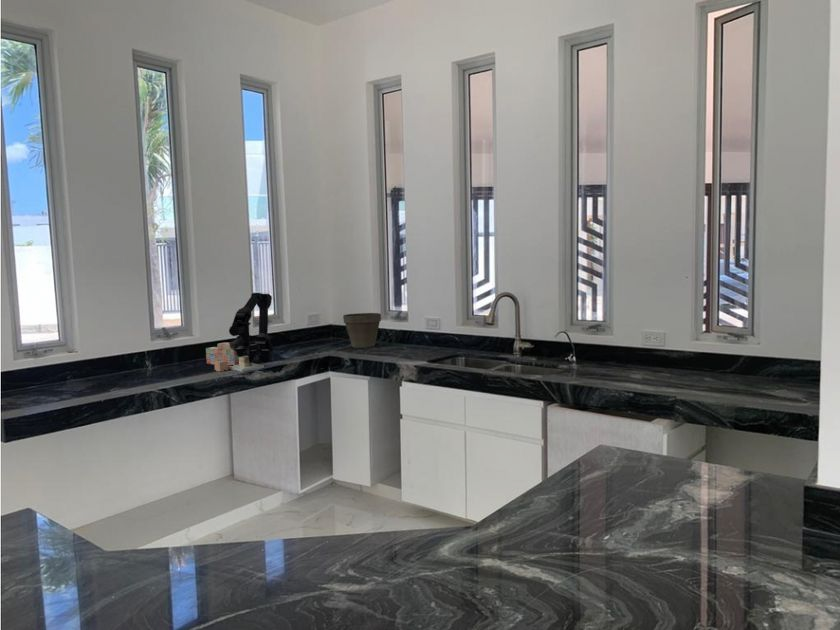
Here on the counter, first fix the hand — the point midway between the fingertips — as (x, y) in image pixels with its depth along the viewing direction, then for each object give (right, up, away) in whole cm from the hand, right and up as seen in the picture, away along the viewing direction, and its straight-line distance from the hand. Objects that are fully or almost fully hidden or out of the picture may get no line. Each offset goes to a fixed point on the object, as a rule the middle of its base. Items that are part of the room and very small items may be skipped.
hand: (245, 362), depth 365 cm
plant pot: (+58, +5, +74) cm, 94 cm away
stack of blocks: (-17, -3, +19) cm, 25 cm away
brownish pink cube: (-12, -4, -4) cm, 13 cm away
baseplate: (0, -4, 0) cm, 4 cm away
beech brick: (0, -2, 0) cm, 2 cm away
